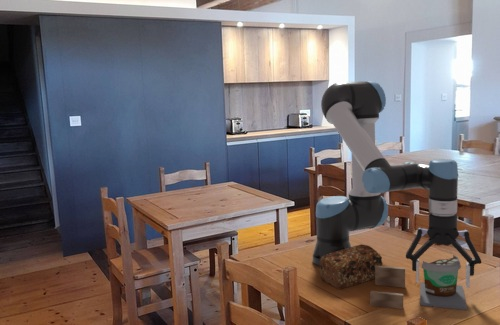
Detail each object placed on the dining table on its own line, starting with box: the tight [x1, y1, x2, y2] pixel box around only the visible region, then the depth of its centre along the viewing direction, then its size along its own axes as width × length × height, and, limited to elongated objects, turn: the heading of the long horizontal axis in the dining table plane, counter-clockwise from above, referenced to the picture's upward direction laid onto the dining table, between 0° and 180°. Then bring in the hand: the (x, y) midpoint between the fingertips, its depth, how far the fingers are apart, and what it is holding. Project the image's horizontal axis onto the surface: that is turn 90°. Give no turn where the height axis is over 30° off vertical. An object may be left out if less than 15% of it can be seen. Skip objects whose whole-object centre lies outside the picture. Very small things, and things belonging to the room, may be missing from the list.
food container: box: [420, 254, 462, 297], centre depth 135 cm, size 12×6×10 cm, turn 109°
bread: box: [319, 244, 384, 290], centre depth 152 cm, size 19×11×10 cm, turn 116°
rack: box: [369, 265, 406, 310], centre depth 138 cm, size 9×16×6 cm, turn 160°
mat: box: [419, 281, 468, 311], centre depth 136 cm, size 12×15×1 cm
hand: (442, 283), depth 136 cm, fingers open, 13 cm apart
